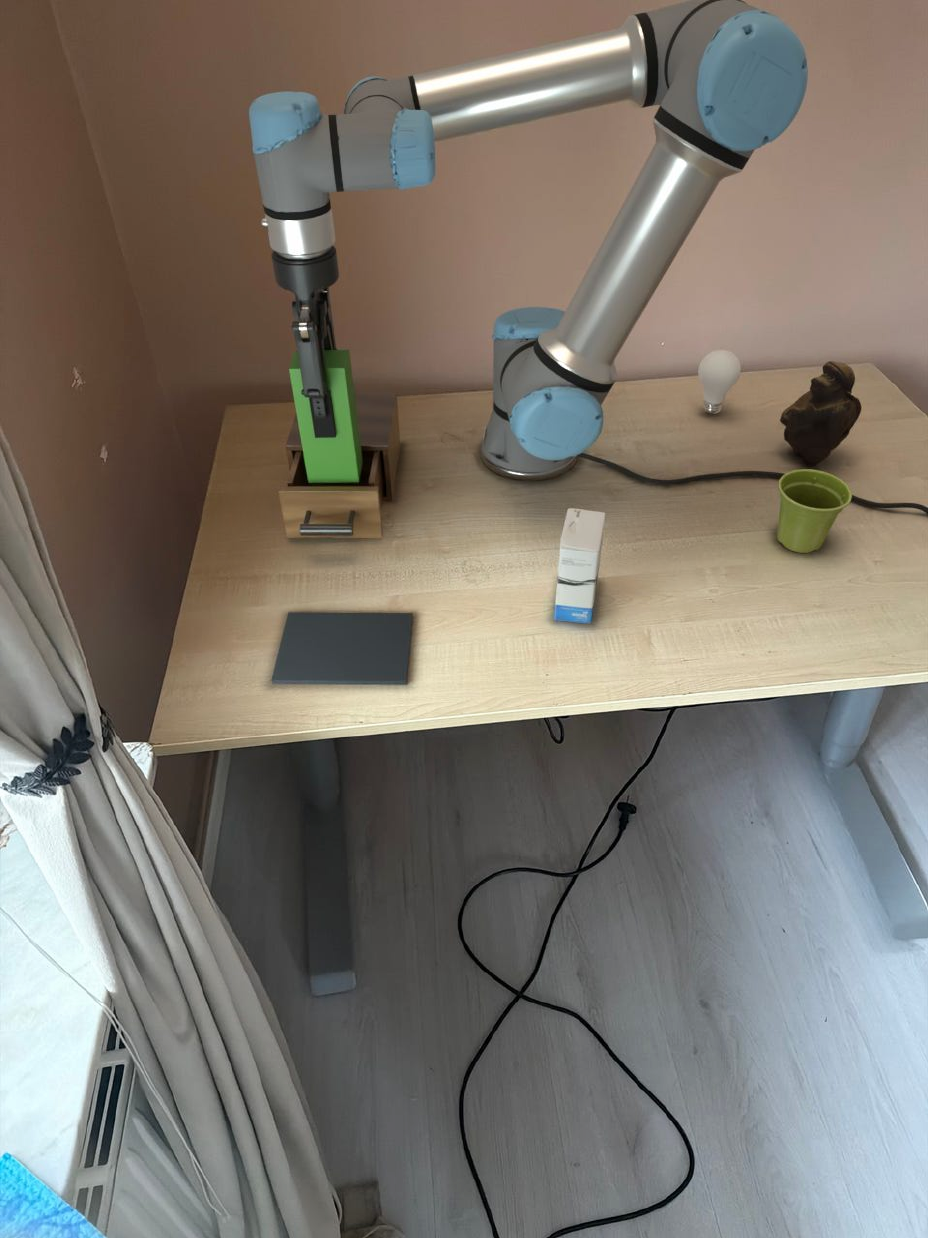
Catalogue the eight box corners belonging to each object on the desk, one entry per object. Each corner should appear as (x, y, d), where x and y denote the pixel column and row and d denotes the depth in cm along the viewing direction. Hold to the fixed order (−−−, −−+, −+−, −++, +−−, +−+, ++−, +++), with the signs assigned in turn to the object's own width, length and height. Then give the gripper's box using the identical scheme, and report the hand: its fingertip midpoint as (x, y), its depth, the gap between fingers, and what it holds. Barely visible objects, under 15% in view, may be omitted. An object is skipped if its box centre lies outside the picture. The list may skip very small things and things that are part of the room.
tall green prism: (362, 462, 126) (349, 349, 115) (359, 482, 123) (344, 367, 111) (313, 462, 126) (295, 350, 115) (308, 483, 123) (288, 368, 111)
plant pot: (835, 527, 127) (853, 475, 121) (833, 567, 121) (851, 515, 115) (768, 515, 129) (781, 464, 124) (761, 553, 123) (775, 501, 117)
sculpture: (752, 432, 139) (811, 344, 133) (795, 450, 145) (854, 367, 139) (794, 465, 132) (859, 373, 125) (838, 483, 138) (902, 396, 131)
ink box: (591, 625, 113) (600, 552, 105) (552, 620, 114) (558, 547, 106) (598, 582, 119) (606, 510, 111) (560, 578, 120) (566, 505, 112)
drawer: (378, 559, 122) (374, 512, 117) (280, 558, 122) (271, 512, 117) (390, 479, 136) (386, 434, 131) (302, 479, 136) (295, 434, 131)
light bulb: (735, 423, 148) (748, 361, 141) (694, 423, 148) (706, 361, 141) (726, 402, 153) (739, 342, 146) (687, 403, 153) (698, 342, 146)
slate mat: (413, 616, 115) (412, 612, 114) (406, 684, 106) (406, 681, 105) (288, 615, 115) (288, 612, 115) (272, 683, 106) (271, 680, 106)
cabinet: (392, 501, 133) (387, 445, 127) (295, 501, 134) (285, 445, 127) (400, 445, 145) (396, 391, 138) (310, 445, 145) (302, 391, 139)
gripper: (284, 220, 110) (310, 391, 126) (255, 279, 97) (289, 462, 113) (344, 219, 110) (363, 391, 126) (324, 278, 97) (348, 461, 113)
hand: (328, 424), depth 119 cm, fingers closed on tall green prism, 5 cm apart
